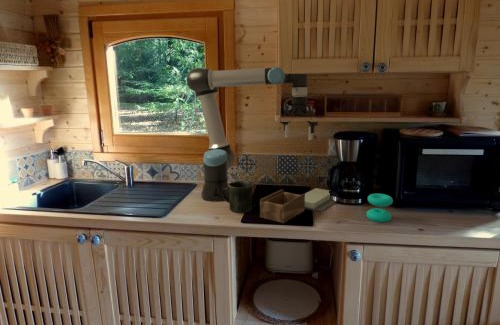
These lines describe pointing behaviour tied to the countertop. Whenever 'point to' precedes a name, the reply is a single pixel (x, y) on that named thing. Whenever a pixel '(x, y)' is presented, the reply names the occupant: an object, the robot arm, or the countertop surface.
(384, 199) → the donuts
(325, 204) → the mat
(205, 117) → the robot arm
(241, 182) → the mug
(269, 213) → the box
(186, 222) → the countertop surface
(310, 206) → the lid
